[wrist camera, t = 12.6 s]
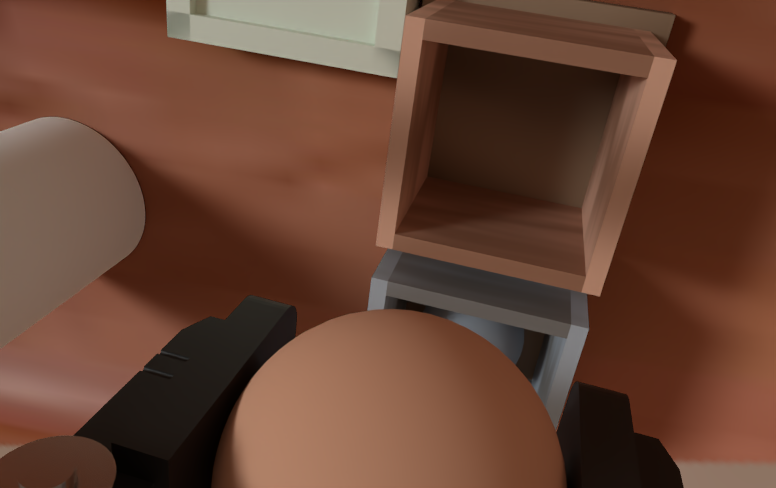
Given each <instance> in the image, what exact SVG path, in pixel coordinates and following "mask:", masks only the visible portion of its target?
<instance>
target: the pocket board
mask: <svg viewBox="0 0 776 488" xmlns="http://www.w3.org/2000/svg"><path fill="white" fill-rule="evenodd" d="M419 4H420V0H166V5H167V33H168V37H173V38H178V39H184V40H189V41H195V42H200V43H206V44H211V45H217V46H222V47H227V48H233V49H238V50H244V51H249V52H255V53H260V54H266V55H271V56H277V57H282V58H288V59H293V60H299V61H304V62H310V63H315V64H321V65H326V66H332V67H337V68H343V69H348V70H354V71H359V72H365V73H370V74H376V75H381V76H387V77H392V78H397V77H398V69H399V62H400V54H401V46H402V38H403V31H404V23H405V15H407V14H409V13H411V12H413V11H415V10H417V9H419Z"/></svg>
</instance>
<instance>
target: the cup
mask: <svg viewBox="0 0 776 488" xmlns="http://www.w3.org/2000/svg"><path fill="white" fill-rule="evenodd" d="M144 226H145V205H144V199H143V195H142V191H141V188H140V186H139V183H138V181H137V178H136V176H135V174H134V172H133V171H132V169H131V167H130V166H129V164H128V163H127V161H126V160H125V158H124V157H123V156H122V155H121V153H120V152H119V151H118V150H117V149H116V148H115V147H114V146H113V145H112V144H111V143H110V142H109V141H108V140H107V139H105V138H104V137H103V136H102V135H100V134H99V133H97V132H96V131H94V130H93V129H91V128H89V127H88V126H86V125H83V124H81V123H79V122H76V121H73V120H70V119H66V118H60V117H44V118H39V119H35V120H32V121H29V122H26V123H24V124H21V125H18V126H15V127H12V128H9V129H6V130H3V131H0V349H1V348H2V347H4V346H5V345H7V344H8V343H9V342H11V341H12V340H13V339H15V338H16V337H17V336H19V335H20V334H22V333H23V332H24V331H26V330H27V329H28V328H30V327H31V326H32V325H34V324H35V323H37V322H38V321H39V320H41V319H42V318H43V317H45V316H46V315H47V314H49V313H50V312H52V311H53V310H54V309H56V308H57V307H58V306H60V305H61V304H62V303H64V302H65V301H67V300H68V299H69V298H71V297H72V296H73V295H75V294H76V293H78V292H79V291H80V290H82V289H83V288H84V287H86V286H87V285H88V284H90V283H91V282H93V281H94V280H95V279H97V278H98V277H99V276H101V275H102V274H103V273H105V272H106V271H108V270H109V269H110V268H112V267H113V266H114V265H116V264H117V263H118V262H120V261H121V260H123V259H124V258H125V257H127V256H128V255H129V254H130V253H131V252H132V251H133V250H134V249H135V248H136V246H137V245H138V243H139V241H140V239H141V237H142V234H143V231H144Z"/></svg>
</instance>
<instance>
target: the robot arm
mask: <svg viewBox="0 0 776 488" xmlns="http://www.w3.org/2000/svg"><path fill="white" fill-rule="evenodd" d="M296 322H297V312H296V308H295V307H294V306H291V305H288V304H284V303H280V302H276V301H272V300H269V299H265V298H261V297H257V296H253V295H249V296H248V297H246V298H245V299H244V300H243V301H242V302H241V303H240V305H239V306H238V307H237V308H236V309H235V310H234V311H233V312H232V313H231V314H230V315H229V316H228V317H227V318H226V320H222V319H219V318H215V317H211V316H210V317H208V318H206V319H204V320H202V321H200V322H197V323H195V324H193V325H191V326H189V327H187V328H185V329H183V330H181V331H180V332H179V333H178V334H177V335H176V336H175V337H174V338H173V339H172V340H171V341H170V342H169V343H168V344H167V345H166V346H165V347H164V348H163V349H162V350H161V353H160V354H156V355H155V356H154V357H153V358H152V359H151V360H150V361H149V362H148V363H147V364H146V365H145V366H144V370H143V371H139V372H138V373H137V374H136V375H135V376H134V377H133V378H132V379H131V380H130V381H129V382H128V383H127V384H126V385H125V386H124V387H123V388H122V389H121V390H120V391H119V392H118V393H117V394H116V395H114V396H113V397H112V398H111V399H110V400H109V401H108V402H107V403H106V404H105V405H104V406H103V407H102V408H101V409H100V410H99V411H98V412H97V413H96V414H95V415H94V416H93V417H92V418H91V419H90V420H89V421H88V422H87V423H86V424H85V425H84V426H83V427H82V428H81V429H80V430H79V431H78V432H77V433H76V434H75V435H73V436H54V437H48V438H44V439H39V440H36V441H33V442H30V443H27V444H25V445H23V446H21V447H18V448H16V449H15V450H13V451H11V452H9V453H8V454H6V455H5V456H3V457H2V458H1V459H0V488H211V482H212V473H213V466H214V461H215V457H216V452H217V448H218V445H219V441H220V438H221V434H222V432H223V429H224V427H225V424H226V422H227V419H228V417H229V415H230V413H231V411H232V409H233V407H234V405H235V403H236V401H237V400H238V398H239V396H240V395H241V393H242V391H243V390H244V388H245V387H246V385H247V384H248V383H249V381H250V380H251V379H252V377H253V376H254V375H255V374H256V373H257V371H258V370H259V369H260V368H261V367H262V366H263V365H264V363H265V362H266V361H267V360H269V359H270V358H271V357H272V356H273V355H274V354H275V353H276V352H277V351H278V350H279V349H281V348H282V347H283V346H285V345H286V344H287V343H289V342H290V341H291V340H293V339H294V338H295V333H296ZM557 437H558V440H559V444H560V447H561V451H562V455H563V458H564V462H565V470H566V481H567V488H683V483H682V478H681V474H680V470H679V468H678V467H677V465H676V464H675V462H674V461H673V459H672V458H671V456H670V455H669V454H668V452H667V451H666V449H665V448H664V446H663V445H662V443H661V442H660V440H659V439H656V438H653V437H649V436H645V435H642V434H638V433H634V431H633V424H632V417H631V410H630V403H629V398H628V396H627V395H626V394H623V393H619V392H615V391H612V390H608V389H604V388H600V387H596V386H593V385H589V384H585V383H581V382H577V381H576V382H575V383H574V385H573V387H572V389H571V391H570V394H569V397H568V400H567V403H566V406H565V409H564V412H563V415H562V418H561V421H560V424H559V427H558V430H557Z"/></svg>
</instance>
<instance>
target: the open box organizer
mask: <svg viewBox="0 0 776 488" xmlns="http://www.w3.org/2000/svg"><path fill="white" fill-rule="evenodd" d="M675 16H676V15H674V14H673V13H669V12H662V11H656V10H649V9H643V8H636V7H630V6H623V5H617V4H610V3H604V2H597V1H591V0H423V1H422V7H421V8H419V9H417V10H415V11H413V12H411V13H409V14H407V15H405V23H404V31H403V38H402V46H401V54H400V62H399V69H398V77H397V85H396V93H395V100H394V108H393V116H392V124H391V131H390V139H389V147H388V155H387V162H386V170H385V178H384V186H383V194H382V201H381V209H380V217H379V225H378V232H377V240H376V246H379V247H384V248H388V249H387V251H386V253H385V255H384V256H383V258H382V260H381V262H380V264H379V265H378V267H377V269H376V271H375V272H374V274H373V276H372V279H371V287H370V294H369V302H368V310H367V311H369V310H377V309H401V310H412V311H417V312H422V313H423V311H424V309H425V307H426V305H428V306H432V307H436V308H440V309H445V310H449V311H453V312H457V313H461V314H465V315H470V316H474V317H478V318H482V319H486V320H490V321H495V322H499V323H503V324H507V325H511V326H515V327H520V328H524V344H523V349H522V352H521V355H520V357H519V359H518V361H517V363H516V366H517V367H518V368H519V370H520V371H521V372H522V373H523V375H524V376H525V377H526V378H527V379H528V381H529V382H530V383H531V384H532V386H533V388H534V389H535V391H536V392H537V394H538V396H539V397H540V399H541V401H542V402H543V404H544V406H545V408H546V410H547V412H548V414H549V416H550V418H551V421H552V423H553V425H554V427H555V430H556V428H557V425H558V422H559V419H560V416H561V413H562V410H563V407H564V404H565V401H566V398H567V395H568V392H569V389H570V386H571V383H572V379H573V376H574V373H575V370H576V367H577V364H578V361H579V358H580V355H581V352H582V349H583V346H584V343H585V340H586V337H587V334H588V331H589V319H588V304H587V294H591V295H595V296H599V297H600V294H601V291H602V288H603V285H604V282H605V279H606V276H607V273H608V270H609V267H610V263H611V260H612V257H613V254H614V251H615V248H616V245H617V242H618V239H619V236H620V233H621V230H622V227H623V224H624V221H625V218H626V215H627V212H628V209H629V205H630V202H631V199H632V196H633V193H634V190H635V187H636V184H637V181H638V178H639V175H640V172H641V169H642V166H643V163H644V160H645V157H646V154H647V150H648V147H649V144H650V141H651V138H652V135H653V132H654V129H655V126H656V123H657V120H658V117H659V114H660V111H661V108H662V105H663V102H664V99H665V96H666V92H667V89H668V86H669V83H670V80H671V77H672V74H673V71H674V68H675V65H676V62H677V60H676V59H675V58H674V56H673V55H672V54H671V53H670V52H669V51H668V50H667V49H666V44H667V41H668V38H669V35H670V32H671V29H672V25H673V22H674V19H675Z"/></svg>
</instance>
